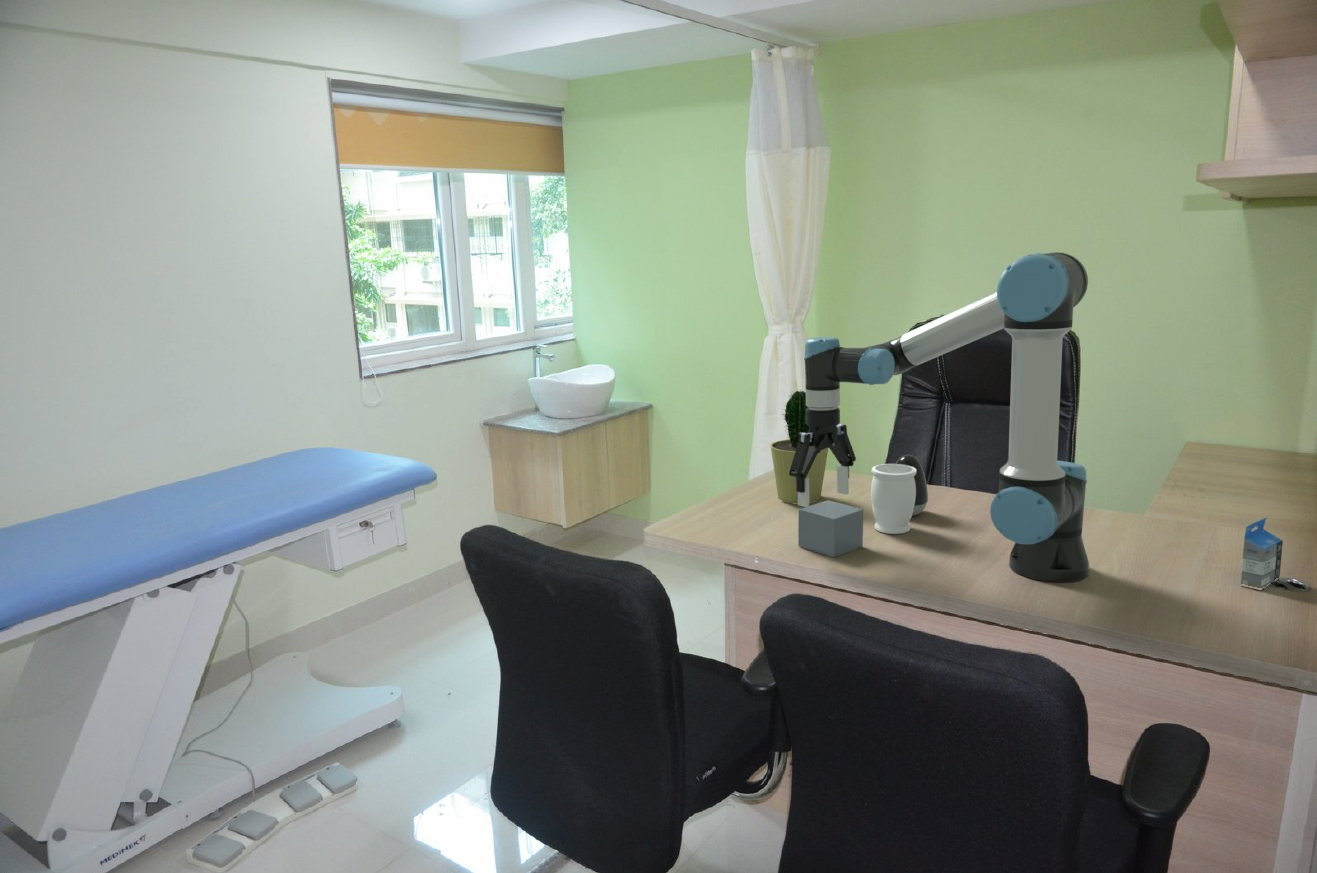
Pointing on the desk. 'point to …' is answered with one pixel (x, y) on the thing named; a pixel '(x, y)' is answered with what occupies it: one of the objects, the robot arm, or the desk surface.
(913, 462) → the dark gray tall dome
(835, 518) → the slate gray cube
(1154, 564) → the desk surface
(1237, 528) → the desk surface
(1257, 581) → the label tape box
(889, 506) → the jar
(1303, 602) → the desk surface
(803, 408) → the potted cactus
